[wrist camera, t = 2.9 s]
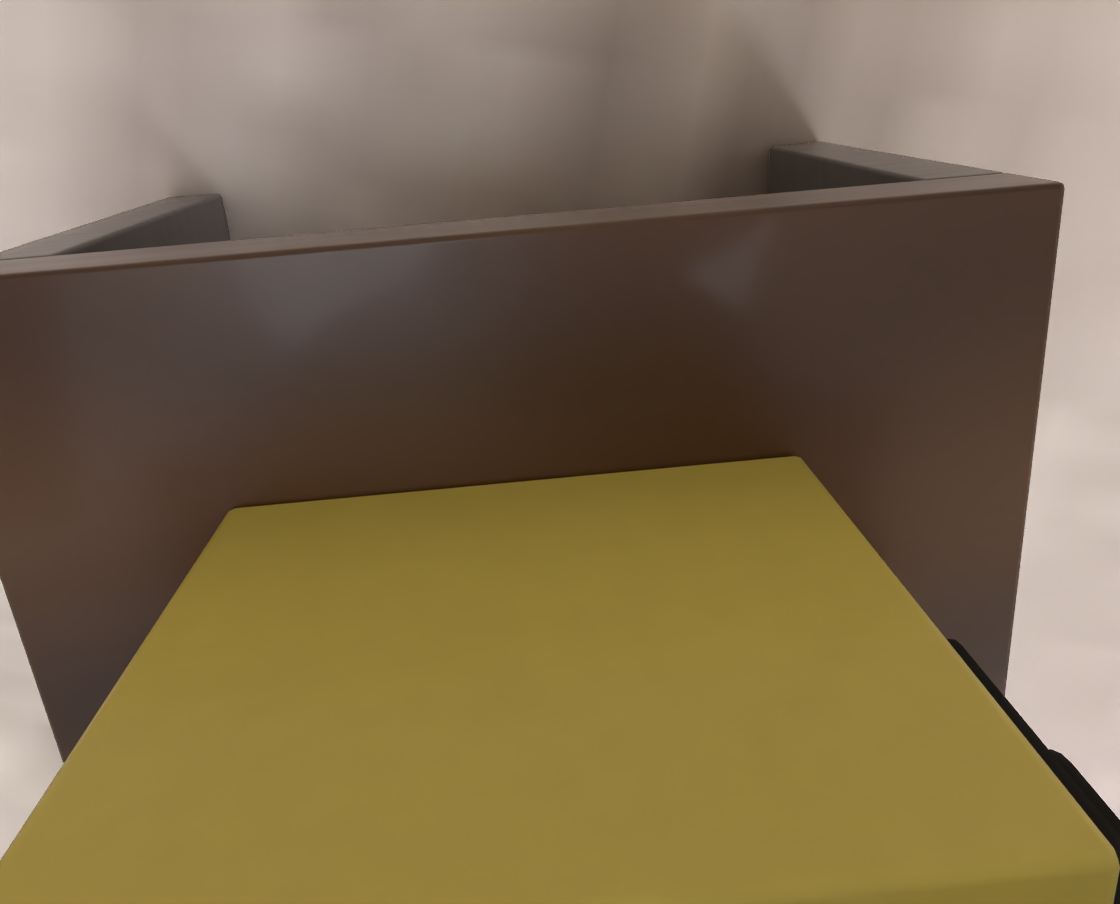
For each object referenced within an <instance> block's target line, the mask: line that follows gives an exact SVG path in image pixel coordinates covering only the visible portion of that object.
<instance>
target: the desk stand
mask: <svg viewBox="0 0 1120 904" xmlns="http://www.w3.org/2000/svg"><path fill="white" fill-rule="evenodd" d="M1063 196H1064V185H1063V183H1060V182H1056V181H1050V180H1045V179H1039V178H1033V177H1027V176H1021V175H1015V174H1009V173H1002V172H997V171H991V170H986V169H980V168H974V167H968V166H962V165H956V164H950V163H944V162H938V161H932V160H926V159H920V158H914V157H908V156H902V155H896V154H890V153H884V152H878V151H872V150H867V149H861V148H855V147H849V146H843V145H837V144H831V143H825V142H812V143H800V144H788V145H777V146H772V147H771V148H770V194H761V195H749V196H738V197H726V198H715V199H703V200H692V201H680V202H669V203H657V204H646V205H634V206H623V207H611V208H599V209H588V210H576V211H565V212H553V213H542V214H530V215H519V216H507V217H496V218H484V219H473V220H461V221H450V222H438V223H427V224H415V225H404V226H392V227H380V228H369V229H357V230H346V231H334V232H323V233H311V234H300V235H288V236H277V237H265V238H254V239H242V240H231V241H230V236H229V231H228V226H227V221H226V217H225V212H224V207H223V202H222V197H221V196H220V194H217V193H216V194H204V195H193V196H181V197H169V198H166V199H163V200H160V201H157V202H154V203H150V204H147V205H144V206H141V207H138V208H135V209H132V210H129V211H126V212H123V213H120V214H117V215H113V216H110V217H107V218H104V219H101V220H98V221H95V222H92V223H89V224H86V225H83V226H79V227H76V228H73V229H70V230H67V231H64V232H61V233H58V234H55V235H52V236H49V237H45V238H42V239H39V240H36V241H33V242H30V243H27V244H24V245H21V246H18V247H15V248H11V249H8V250H5V251H2V252H0V578H1V581H2V584H3V587H4V590H5V593H6V596H7V599H8V602H9V604H10V607H11V610H12V613H13V616H14V619H15V622H16V625H17V628H18V631H19V634H20V637H21V640H22V643H23V646H24V649H25V651H26V654H27V657H28V660H29V663H30V666H31V669H32V672H33V675H34V678H35V681H36V684H37V687H38V690H39V693H40V696H41V699H42V701H43V704H44V707H45V710H46V713H47V716H48V719H49V722H50V725H51V728H52V731H53V734H54V737H55V740H56V743H57V746H58V748H59V751H60V754H61V757H62V760H63V763H64V762H65V761H66V759H67V758H68V756H69V755H70V753H71V752H72V750H73V749H74V747H75V746H76V744H77V743H78V741H79V739H80V738H81V736H82V735H83V733H84V732H85V730H86V729H87V727H88V726H89V724H90V723H91V721H92V720H93V718H94V717H95V715H96V713H97V712H98V710H99V709H100V707H101V706H102V704H103V703H104V701H105V700H106V698H107V697H108V695H109V694H110V692H111V691H112V689H113V687H114V686H115V684H116V683H117V681H118V680H119V678H120V677H121V675H122V674H123V672H124V671H125V669H126V668H127V666H128V665H129V663H130V661H131V660H132V658H133V657H134V655H135V654H136V652H137V651H138V649H139V648H140V646H141V645H142V643H143V642H144V640H145V639H146V637H147V635H148V634H149V632H150V631H151V629H152V628H153V626H154V625H155V623H156V622H157V620H158V619H159V617H160V616H161V614H162V613H163V611H164V609H165V608H166V606H167V605H168V603H169V602H170V600H171V599H172V597H173V596H174V594H175V593H176V591H177V590H178V588H179V587H180V585H181V583H182V582H183V580H184V579H185V577H186V576H187V574H188V573H189V571H190V570H191V568H192V567H193V565H194V564H195V562H196V561H197V559H198V557H199V556H200V554H201V553H202V551H203V550H204V548H205V547H206V545H207V544H208V542H209V541H210V539H211V538H212V536H213V535H214V533H215V531H216V530H217V528H218V527H219V525H220V524H221V522H222V521H223V519H224V518H225V516H226V515H227V513H228V512H229V511H230V510H232V509H234V508H243V507H254V506H265V505H275V504H286V503H297V502H308V501H318V500H329V499H340V498H350V497H361V496H372V495H383V494H393V493H404V492H415V491H425V490H436V489H447V488H458V487H468V486H479V485H490V484H500V483H511V482H522V481H533V480H543V479H554V478H565V477H575V476H586V475H597V474H608V473H618V472H629V471H640V470H650V469H661V468H672V467H683V466H693V465H704V464H715V463H725V462H736V461H747V460H758V459H768V458H779V457H790V456H796V457H800V458H801V459H802V460H803V461H804V462H805V464H806V465H807V466H808V467H809V469H810V470H811V471H812V472H813V474H814V475H815V476H816V477H817V478H818V480H819V481H820V482H821V483H822V485H823V486H824V487H825V488H826V490H827V491H828V492H829V493H830V495H831V496H832V497H833V498H834V500H835V501H836V502H837V503H838V505H839V506H840V507H841V508H842V510H843V511H844V512H845V513H846V515H847V516H848V517H849V518H850V520H851V521H852V522H853V523H854V525H855V526H856V527H857V528H858V530H859V531H860V532H861V533H862V535H863V536H864V537H865V538H866V540H867V541H868V542H869V543H870V545H871V546H872V547H873V548H874V550H875V551H876V552H877V553H878V555H879V556H880V557H881V558H882V560H883V561H884V562H885V563H886V565H887V566H888V567H889V568H890V570H891V571H892V572H893V573H894V575H895V576H896V577H897V578H898V580H899V581H900V582H901V583H902V585H903V586H904V587H905V588H906V590H907V591H908V592H909V593H910V594H911V596H912V597H913V598H914V599H915V601H916V602H917V603H918V604H919V606H920V607H921V608H922V609H923V611H924V612H925V613H926V614H927V616H928V617H929V618H930V619H931V621H932V622H933V623H934V624H935V626H936V627H937V628H938V629H939V631H940V632H941V633H942V634H943V636H944V637H945V638H946V639H955V640H957V641H958V642H959V643H960V644H961V645H962V646H963V647H964V648H965V649H966V651H967V652H968V653H969V654H970V655H971V657H972V658H973V659H974V660H975V661H976V663H977V664H978V665H979V666H980V668H981V669H982V670H983V671H984V672H985V674H986V675H987V676H988V677H989V678H990V680H991V681H992V682H993V683H994V684H995V686H996V687H997V688H998V689H999V690H1000V692H1001V693H1002V694H1003V695H1004V696H1005V687H1006V679H1007V670H1008V662H1009V653H1010V645H1011V637H1012V628H1013V620H1014V611H1015V603H1016V594H1017V586H1018V577H1019V569H1020V560H1021V552H1022V543H1023V535H1024V526H1025V518H1026V509H1027V501H1028V492H1029V484H1030V476H1031V467H1032V459H1033V450H1034V442H1035V433H1036V425H1037V416H1038V408H1039V399H1040V391H1041V382H1042V374H1043V365H1044V357H1045V348H1046V340H1047V332H1048V323H1049V315H1050V306H1051V298H1052V289H1053V281H1054V272H1055V264H1056V255H1057V247H1058V238H1059V230H1060V221H1061V213H1062V204H1063Z"/></svg>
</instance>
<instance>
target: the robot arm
mask: <svg viewBox="0 0 1120 904" xmlns="http://www.w3.org/2000/svg"><path fill="white" fill-rule="evenodd" d="M947 641H948V642H949V643H950V644H951V646H952V647H953V648H954V649H955V651H956V652H957V653H958V654H959V656H960V657H961V658H962V659H963V661H964V662H965V663H966V664H967V666H968V667H969V668H970V669H971V671H972V672H973V673H974V674H975V676H976V677H977V678H978V679H979V681H980V682H981V683H982V684H983V686H984V687H985V688H986V689H987V691H988V692H989V693H990V694H991V696H992V697H993V698H994V699H995V701H996V702H997V703H998V704H999V706H1000V707H1001V708H1002V709H1003V710H1004V712H1005V713H1006V714H1007V715H1008V717H1009V718H1010V719H1011V720H1012V722H1013V723H1014V724H1015V725H1016V727H1017V728H1018V729H1019V730H1020V732H1021V733H1022V734H1023V735H1024V737H1025V738H1026V739H1027V740H1028V742H1029V743H1030V744H1031V745H1032V747H1033V748H1034V749H1035V750H1036V752H1037V753H1038V754H1039V755H1040V757H1041V758H1042V759H1043V760H1044V762H1045V763H1046V764H1047V765H1048V767H1049V768H1050V769H1051V770H1052V772H1053V773H1054V774H1055V775H1056V777H1057V778H1058V779H1059V780H1060V782H1061V783H1062V784H1063V785H1064V787H1065V788H1066V789H1067V790H1068V792H1069V793H1070V794H1071V795H1072V797H1073V798H1074V799H1075V800H1076V802H1077V803H1078V804H1079V805H1080V807H1081V808H1082V809H1083V810H1084V812H1085V813H1086V814H1087V815H1088V817H1089V818H1090V819H1091V820H1092V822H1093V823H1094V824H1095V825H1096V826H1097V828H1098V829H1099V830H1100V831H1101V833H1102V834H1103V835H1104V836H1105V838H1106V839H1107V840H1108V841H1109V843H1110V844H1111V845H1112V846H1113V848H1114V849H1115V852H1116V855H1117V857H1118V861H1119V865H1120V820H1119V819H1118V817H1117V816H1116V815H1115V814H1114V813H1113V812H1112V810H1111V809H1110V808H1109V807H1108V806H1107V804H1106V803H1105V802H1104V801H1103V800H1102V799H1101V797H1100V796H1099V795H1098V794H1097V793H1096V791H1095V790H1094V789H1093V788H1092V787H1091V786H1090V784H1089V783H1088V782H1087V781H1086V780H1085V778H1084V777H1083V776H1082V775H1081V774H1080V772H1079V771H1078V770H1077V769H1076V768H1075V767H1074V765H1073V764H1072V763H1071V762H1070V761H1069V760H1068V759H1066V758H1065V757H1064V756H1063V755H1062V754H1061V753H1058V752H1056V751H1054V750H1048V749H1047V747H1046V746H1045V745H1044V744H1043V743H1042V741H1041V740H1040V739H1039V738H1038V736H1037V735H1036V734H1035V733H1034V732H1033V730H1032V729H1031V728H1030V727H1029V726H1028V724H1027V723H1026V722H1025V721H1024V720H1023V718H1022V717H1021V716H1020V715H1019V713H1018V712H1017V711H1016V710H1015V709H1014V707H1013V706H1012V705H1011V704H1010V703H1009V701H1008V700H1007V699H1006V698H1005V697H1004V695H1003V694H1002V693H1001V692H1000V690H999V689H998V688H997V687H996V686H995V684H994V683H993V682H992V681H991V680H990V678H989V677H988V676H987V675H986V674H985V672H984V671H983V670H982V669H981V668H980V666H979V665H978V664H977V663H976V661H975V660H974V659H973V658H972V657H971V655H970V654H969V653H968V652H967V651H966V649H965V648H964V647H963V646H962V645H961V644H960V643H959V642H958V641H957V640H955V639H947ZM1113 904H1120V871H1119V876H1118V881H1117V887H1116V892H1115V897H1114V903H1113Z"/></svg>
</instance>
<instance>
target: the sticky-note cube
mask: <svg viewBox="0 0 1120 904" xmlns="http://www.w3.org/2000/svg"><path fill="white" fill-rule="evenodd" d="M1119 871H1120V865H1119V861H1118V857H1117V855H1116V852H1115V849H1114V848H1113V846H1112V845H1111V844H1110V843H1109V841H1108V840H1107V839H1106V838H1105V836H1104V835H1103V834H1102V833H1101V831H1100V830H1099V829H1098V828H1097V826H1096V825H1095V824H1094V823H1093V822H1092V820H1091V819H1090V818H1089V817H1088V815H1087V814H1086V813H1085V812H1084V810H1083V809H1082V808H1081V807H1080V805H1079V804H1078V803H1077V802H1076V800H1075V799H1074V798H1073V797H1072V795H1071V794H1070V793H1069V792H1068V790H1067V789H1066V788H1065V787H1064V785H1063V784H1062V783H1061V782H1060V780H1059V779H1058V778H1057V777H1056V775H1055V774H1054V773H1053V772H1052V770H1051V769H1050V768H1049V767H1048V765H1047V764H1046V763H1045V762H1044V760H1043V759H1042V758H1041V757H1040V755H1039V754H1038V753H1037V752H1036V750H1035V749H1034V748H1033V747H1032V745H1031V744H1030V743H1029V742H1028V740H1027V739H1026V738H1025V737H1024V735H1023V734H1022V733H1021V732H1020V730H1019V729H1018V728H1017V727H1016V725H1015V724H1014V723H1013V722H1012V720H1011V719H1010V718H1009V717H1008V715H1007V714H1006V713H1005V712H1004V710H1003V709H1002V708H1001V707H1000V706H999V704H998V703H997V702H996V701H995V699H994V698H993V697H992V696H991V694H990V693H989V692H988V691H987V689H986V688H985V687H984V686H983V684H982V683H981V682H980V681H979V679H978V678H977V677H976V676H975V674H974V673H973V672H972V671H971V669H970V668H969V667H968V666H967V664H966V663H965V662H964V661H963V659H962V658H961V657H960V656H959V654H958V653H957V652H956V651H955V649H954V648H953V647H952V646H951V644H950V643H949V642H948V641H947V639H946V638H945V637H944V636H943V634H942V633H941V632H940V631H939V629H938V628H937V627H936V626H935V624H934V623H933V622H932V621H931V619H930V618H929V617H928V616H927V614H926V613H925V612H924V611H923V609H922V608H921V607H920V606H919V604H918V603H917V602H916V601H915V599H914V598H913V597H912V596H911V594H910V593H909V592H908V591H907V590H906V588H905V587H904V586H903V585H902V583H901V582H900V581H899V580H898V578H897V577H896V576H895V575H894V573H893V572H892V571H891V570H890V568H889V567H888V566H887V565H886V563H885V562H884V561H883V560H882V558H881V557H880V556H879V555H878V553H877V552H876V551H875V550H874V548H873V547H872V546H871V545H870V543H869V542H868V541H867V540H866V538H865V537H864V536H863V535H862V533H861V532H860V531H859V530H858V528H857V527H856V526H855V525H854V523H853V522H852V521H851V520H850V518H849V517H848V516H847V515H846V513H845V512H844V511H843V510H842V508H841V507H840V506H839V505H838V503H837V502H836V501H835V500H834V498H833V497H832V496H831V495H830V493H829V492H828V491H827V490H826V488H825V487H824V486H823V485H822V483H821V482H820V481H819V480H818V478H817V477H816V476H815V475H814V474H813V472H812V471H811V470H810V469H809V467H808V466H807V465H806V464H805V462H804V461H803V460H802V459H801V458H800V457H796V456H790V457H779V458H768V459H758V460H747V461H736V462H725V463H715V464H704V465H693V466H683V467H672V468H661V469H650V470H640V471H629V472H618V473H608V474H597V475H586V476H575V477H565V478H554V479H543V480H533V481H522V482H511V483H500V484H490V485H479V486H468V487H458V488H447V489H436V490H425V491H415V492H404V493H393V494H383V495H372V496H361V497H350V498H340V499H329V500H318V501H308V502H297V503H286V504H275V505H265V506H254V507H243V508H234V509H232V510H230V511H229V512H228V513H227V515H226V516H225V518H224V519H223V521H222V522H221V524H220V525H219V527H218V528H217V530H216V531H215V533H214V535H213V536H212V538H211V539H210V541H209V542H208V544H207V545H206V547H205V548H204V550H203V551H202V553H201V554H200V556H199V557H198V559H197V561H196V562H195V564H194V565H193V567H192V568H191V570H190V571H189V573H188V574H187V576H186V577H185V579H184V580H183V582H182V583H181V585H180V587H179V588H178V590H177V591H176V593H175V594H174V596H173V597H172V599H171V600H170V602H169V603H168V605H167V606H166V608H165V609H164V611H163V613H162V614H161V616H160V617H159V619H158V620H157V622H156V623H155V625H154V626H153V628H152V629H151V631H150V632H149V634H148V635H147V637H146V639H145V640H144V642H143V643H142V645H141V646H140V648H139V649H138V651H137V652H136V654H135V655H134V657H133V658H132V660H131V661H130V663H129V665H128V666H127V668H126V669H125V671H124V672H123V674H122V675H121V677H120V678H119V680H118V681H117V683H116V684H115V686H114V687H113V689H112V691H111V692H110V694H109V695H108V697H107V698H106V700H105V701H104V703H103V704H102V706H101V707H100V709H99V710H98V712H97V713H96V715H95V717H94V718H93V720H92V721H91V723H90V724H89V726H88V727H87V729H86V730H85V732H84V733H83V735H82V736H81V738H80V739H79V741H78V743H77V744H76V746H75V747H74V749H73V750H72V752H71V753H70V755H69V756H68V758H67V759H66V761H65V762H64V764H63V765H62V767H61V769H60V770H59V772H58V773H57V775H56V776H55V778H54V779H53V781H52V782H51V784H50V785H49V787H48V788H47V790H46V791H45V793H44V795H43V796H42V798H41V799H40V801H39V802H38V804H37V805H36V807H35V808H34V810H33V811H32V813H31V814H30V816H29V817H28V819H27V821H26V822H25V824H24V825H23V827H22V828H21V830H20V831H19V833H18V834H17V836H16V837H15V839H14V840H13V842H12V843H11V845H10V847H9V848H8V850H7V851H6V853H5V854H4V856H3V857H2V859H1V860H0V904H1113V903H1114V897H1115V892H1116V887H1117V881H1118V876H1119Z"/></svg>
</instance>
